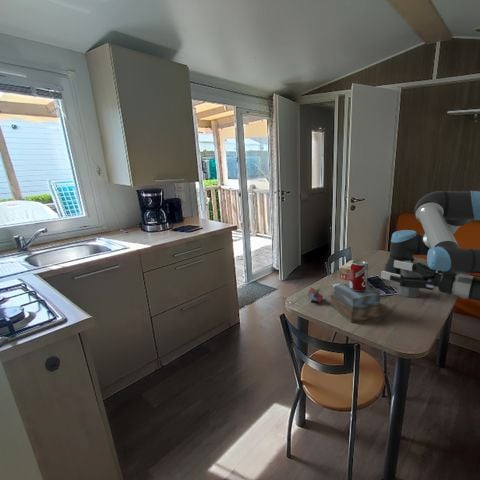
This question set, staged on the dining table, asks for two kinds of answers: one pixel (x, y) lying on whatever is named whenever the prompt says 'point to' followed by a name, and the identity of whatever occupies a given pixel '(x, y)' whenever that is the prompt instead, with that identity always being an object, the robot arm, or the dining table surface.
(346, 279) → the stack of blocks
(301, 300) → the dining table surface
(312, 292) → the geometric puzzle
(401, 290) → the coffeepot
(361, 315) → the grey brown square block
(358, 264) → the soda can
